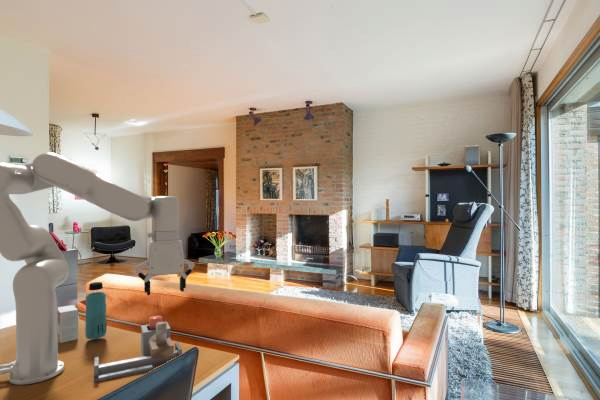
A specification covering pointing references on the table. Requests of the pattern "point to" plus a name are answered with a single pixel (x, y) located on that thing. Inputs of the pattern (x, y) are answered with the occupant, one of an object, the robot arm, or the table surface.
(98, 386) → the table surface
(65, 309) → the small box
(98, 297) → the beverage bottle
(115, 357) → the table surface
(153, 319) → the gauge button
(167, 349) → the carriage
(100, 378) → the rail track
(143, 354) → the gauge cabinet
